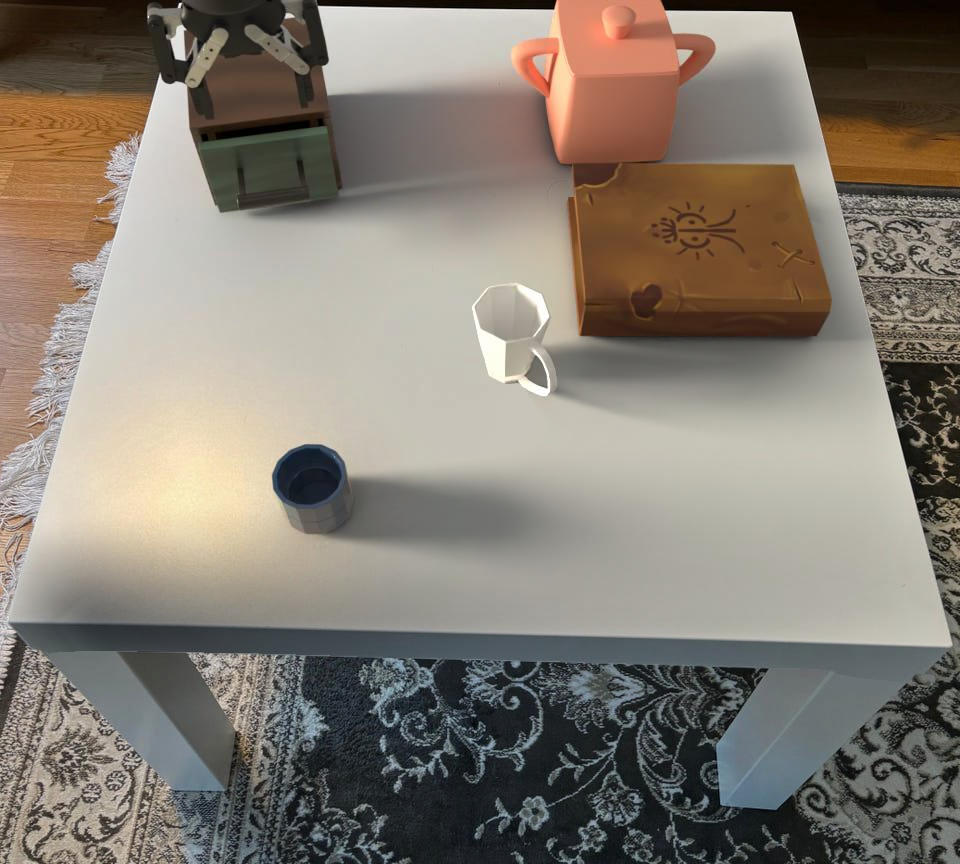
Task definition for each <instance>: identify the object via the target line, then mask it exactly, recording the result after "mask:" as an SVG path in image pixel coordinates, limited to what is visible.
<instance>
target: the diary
mask: <svg viewBox="0 0 960 864" xmlns="http://www.w3.org/2000/svg"><path fill="white" fill-rule="evenodd" d="M571 177H572V186H573V187H572V188H573V196H567V201H566V205H567V217H568V218H567V219H568V228H569V241H570V252H571V263H572V276H573V285H574V297H575V311H576V319H577V331H578V336H579V337H818V335H819V333H820V331H821V330H822V328H823V326H824V324H825V322H826V320H827V319H828V317H829V316H830V314H831V310H832V302H833V297H832V294H831V290H830V286H829V283H828V280H827V277H826V272H825V269H824V265H823V262H822V258H821V255H820V251H819V247H818V244H817V240H816V237H815V233H814V229H813V226H812V222H811V219H810V215H809V212H808V208H807V204H806V201H805V198H804V194H803V190H802V188H801V184H800V180H799V176H798V172H797V169H796V166H795V164H793V163H791V164H790V163H789V164H788V163H787V164H785V163H783V164H782V163H778V164H776V163H775V164H774V163H772V164H771V163H770V164H769V163H647V162H645V163H641V162H623V163H573V164H571Z"/></svg>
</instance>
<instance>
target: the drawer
mask: <svg viewBox="0 0 960 864" xmlns="http://www.w3.org/2000/svg"><path fill="white" fill-rule="evenodd" d="M207 136H208V139H209V141H207V142H200V143H199V152H200V155H201V158H202V161H203V164H204V167H205V170H206V173H207V176H208V179H209V182H210V185H211V188H212V191H213V194H214V197H215V200H216V203H217V208H218V212H219V214H222V213H230V212H237V211H240V212H243V211H249V210H255V209H265V208H271V207H276V206H277V207H278V206H285V205H291V204H299V203H307V202H311V201H314V200H315V201H316V200H322V199H329V198H336V197H339V190H338V189H339V188H338V189H337V183H336V178H335V172H334V166H333V160H332V154H331V148H330V143H329V137H328V131H327V126H321V127H319V123H318V119H314V120H306V121H299V122H291V123H283V124H276V125H268V126H260V127H253V128H245V129H237V130H230V131H222V132H214V133H207Z"/></svg>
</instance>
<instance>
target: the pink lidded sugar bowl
mask: <svg viewBox="0 0 960 864" xmlns="http://www.w3.org/2000/svg"><path fill="white" fill-rule="evenodd" d="M551 21H552V22H551V25H550V30H549V35H548V37H539V38H531V39H527V40H523V41H521V42H518V43H517V44H516V45H514V46H513V47H512V49H511V51H510V52H511V53H510V59H511V63H512V65H513V67H514V69H515V70H516V72H517V73H518V74H519V75H520V77H521V78H522V79H523V80H524V81H526V83H528V84H529V85H530V86H531V87H533V88H534V89H535V90H537V91H538V92H539V93H540V94H541V95H543V96H544V97H545V98H544V99H545V107H546V116H547V122H548V128H549V133H550V137H551V141H552V145H553V149H554V152H555V156H556V158H557V160H558V162H559V163H560V164H562V165H573V163H641V162H655V161H661V160H663V158H664V156H665V154H666V153H667V150H668V147H669V144H670V142H671V139H672V134H673V128H674V123H675V118H676V111H677V104H678V93H679V88H680V87H682V86H683V85H684V84H686V83H687V82H689V81H690V80H691V79H692V78H694V77H695V76H696V75H698V74H699V73H700V72H701V71H702V70H703V69H705V68H706V66H707V65H708V64H709V63H710V62H711V61H712V59H713V57H714V55H715V54H716V49H717V47H716V42H715V41H714V40H713V39H712V38H711V37H709V36H707V35H704V34H699V33H687V32H685V33H684V32H683V33H673V30H672V28H671V24H670V21H669V18H668V16H667V13H666V10H665V7H664V5H663V2H662V0H556V2H555V6H554V10H553V15H552V20H551ZM677 50H687V51H692V52H691V54H690V55H689V56H688V57H687V59H686V60H685V61H684V62H683V63H682V64H681V65H680V60H679V54H678V51H677ZM541 55H542V56H543V55H545V63H544V76H543V75H542V73H541V72H540V71H539V70H538V69H539V68H537V66H536V64H535V63H534V60H533V59H534V58H535V57H537V56H541Z"/></svg>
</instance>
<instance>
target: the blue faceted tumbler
mask: <svg viewBox="0 0 960 864" xmlns="http://www.w3.org/2000/svg"><path fill="white" fill-rule="evenodd" d="M271 482H272V483H271V484H272V491H273V493H274V495H275V497H276V500H277V502H278V504H279V507H280V510H281V512H282V514H283V517H284V518H285V519H286V521H287V523H288V524H289V525H290V527H292V528H293V529H294V530H297V531H299V532H301V533H303V534H306V535H325V534H326V533H329V532H331V531H332V532H333V531H335V530H337V529H338V528H339V527H340V526H341V525H342V524H343V523H344V522H345V521H346V520H347V519H348V518H349V517H350V515H351V511H352V508H353V506H354V497H353V489H352V486H351V482H350V478H349V474H348V469H347V465H346V462H345V461H344V459H343V458H342V457H341V455H340V454H339V453H338V452H337V451H336V450H335V449H333V448H330V447H329V446H326V445H325V444H322V443H321V444H320V443H319V444H318V443H305V444H302V445H299V446H296V447H293V448H291V449H289V450H288V451H287V452H286V453H284V454H283V455H282V456H281V457H280V458H279V459H278V460H277V461H276V464H275V467H274V468H273V471H272V473H271Z"/></svg>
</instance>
